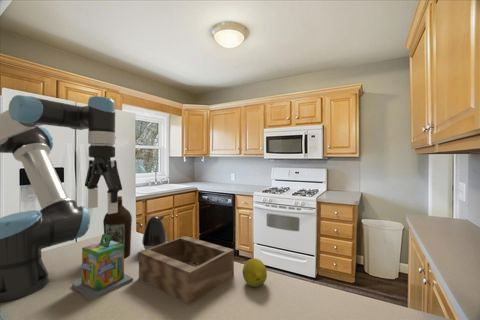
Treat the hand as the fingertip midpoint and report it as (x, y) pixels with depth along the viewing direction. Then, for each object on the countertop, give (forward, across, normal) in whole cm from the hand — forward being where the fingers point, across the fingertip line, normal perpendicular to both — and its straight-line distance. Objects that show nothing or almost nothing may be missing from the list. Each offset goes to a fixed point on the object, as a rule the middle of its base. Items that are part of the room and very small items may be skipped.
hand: (102, 210), depth 76 cm
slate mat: (+24, 0, 0) cm, 24 cm away
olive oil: (+24, +18, -14) cm, 33 cm away
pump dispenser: (+24, +11, -27) cm, 38 cm away
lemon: (+24, -41, -28) cm, 55 cm away
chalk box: (+23, -1, 0) cm, 23 cm away
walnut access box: (+24, -19, -19) cm, 36 cm away
